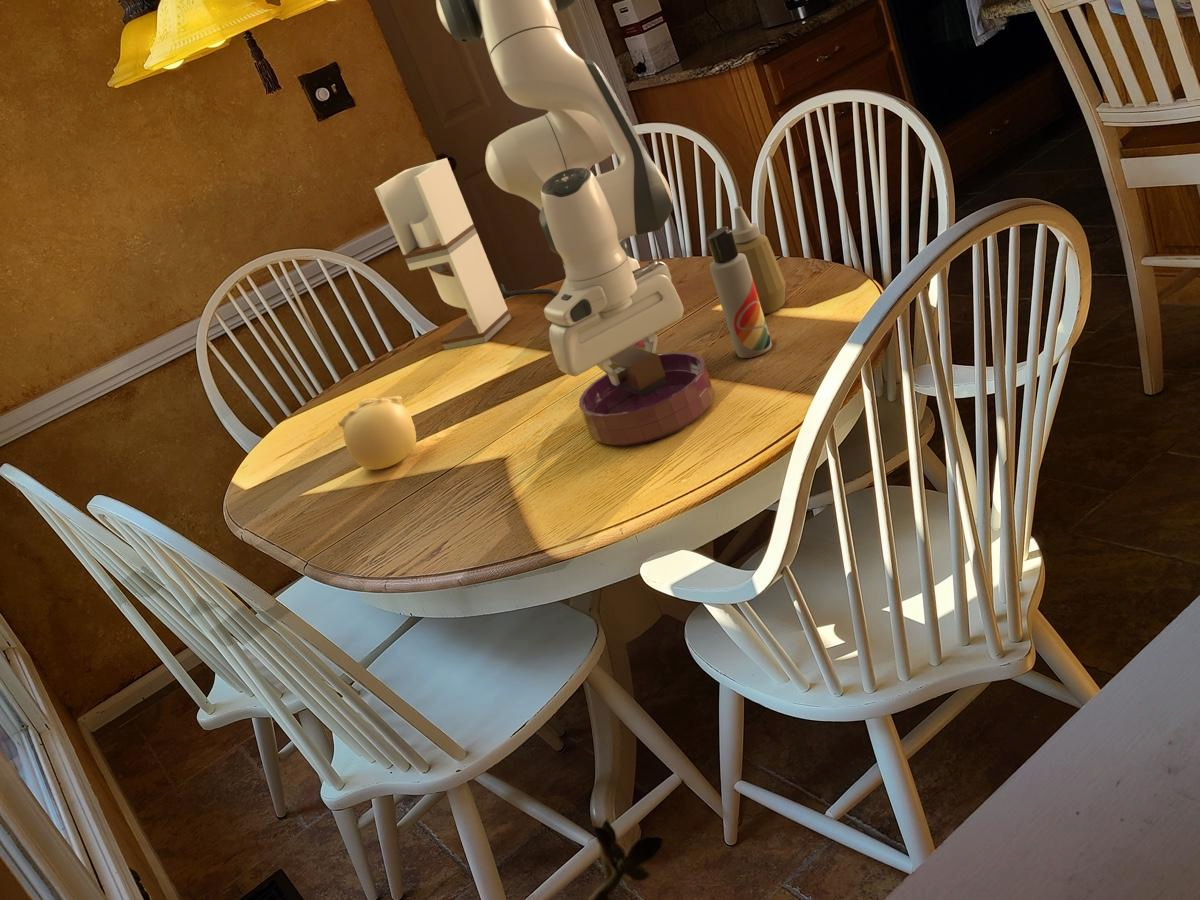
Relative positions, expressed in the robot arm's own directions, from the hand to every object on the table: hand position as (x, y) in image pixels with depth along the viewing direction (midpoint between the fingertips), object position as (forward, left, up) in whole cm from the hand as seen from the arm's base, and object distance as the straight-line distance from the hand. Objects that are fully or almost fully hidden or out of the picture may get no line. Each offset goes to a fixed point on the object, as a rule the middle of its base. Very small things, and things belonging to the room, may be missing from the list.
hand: (635, 374), depth 160 cm
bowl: (-1, +1, -8) cm, 8 cm away
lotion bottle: (-3, +22, -8) cm, 23 cm away
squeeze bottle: (-15, +34, -8) cm, 38 cm away
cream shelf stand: (-78, +5, -8) cm, 78 cm away
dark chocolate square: (0, 0, -2) cm, 2 cm away
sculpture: (-37, -30, -8) cm, 48 cm away
